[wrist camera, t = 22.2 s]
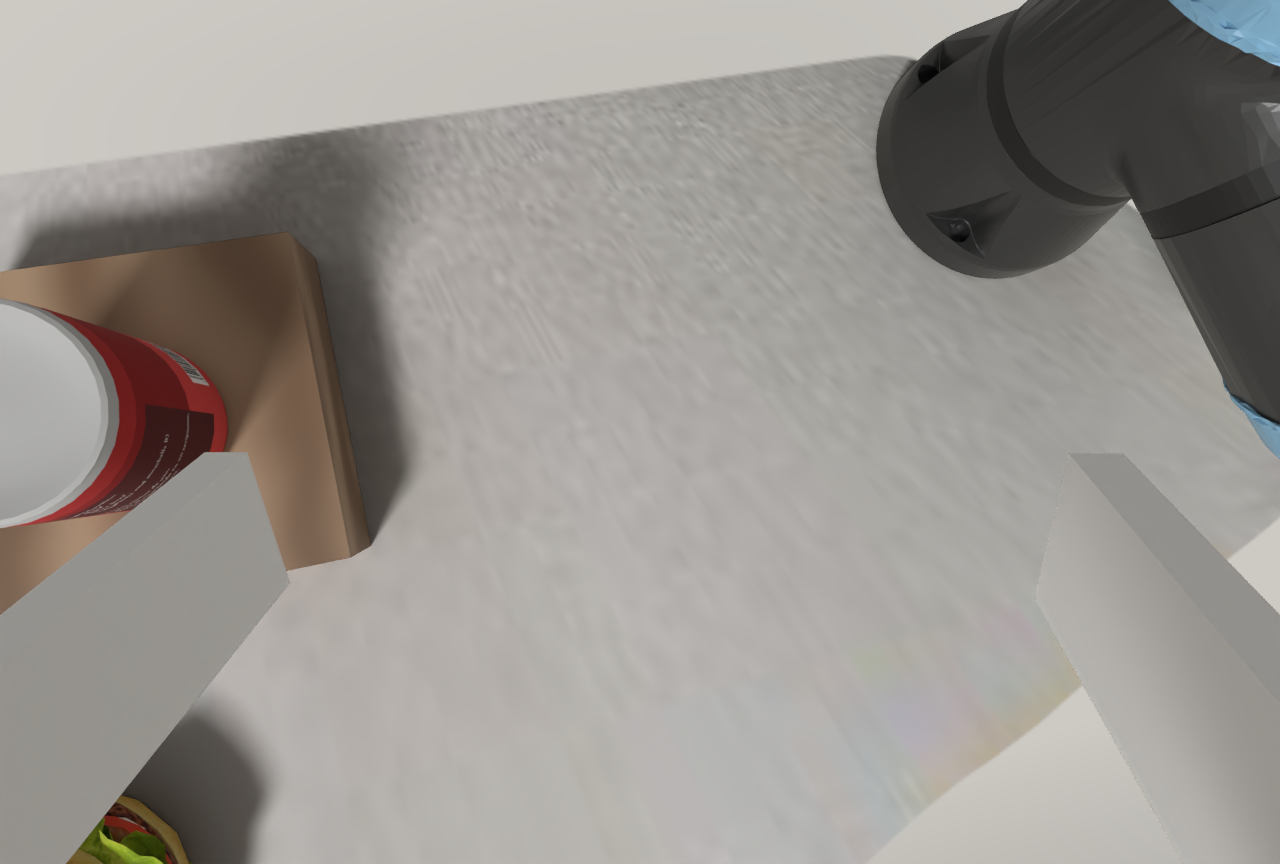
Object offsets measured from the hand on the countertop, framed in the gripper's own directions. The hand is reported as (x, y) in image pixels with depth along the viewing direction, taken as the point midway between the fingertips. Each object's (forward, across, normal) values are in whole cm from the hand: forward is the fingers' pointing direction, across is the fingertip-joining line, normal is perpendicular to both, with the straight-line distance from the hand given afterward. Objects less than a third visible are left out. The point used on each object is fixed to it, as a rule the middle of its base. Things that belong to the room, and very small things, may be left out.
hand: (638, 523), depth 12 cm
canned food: (+19, -26, -8) cm, 33 cm away
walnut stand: (+23, -27, -10) cm, 37 cm away
